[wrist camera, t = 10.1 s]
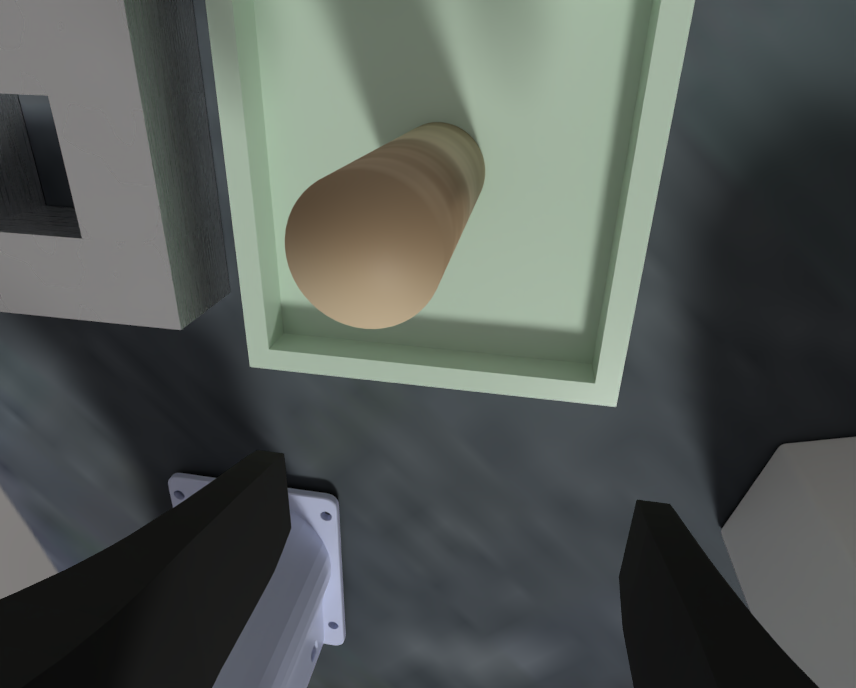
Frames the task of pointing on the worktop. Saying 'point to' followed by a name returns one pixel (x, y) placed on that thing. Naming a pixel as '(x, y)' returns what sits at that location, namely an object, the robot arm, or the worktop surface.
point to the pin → (385, 226)
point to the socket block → (109, 165)
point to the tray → (503, 187)
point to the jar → (802, 555)
